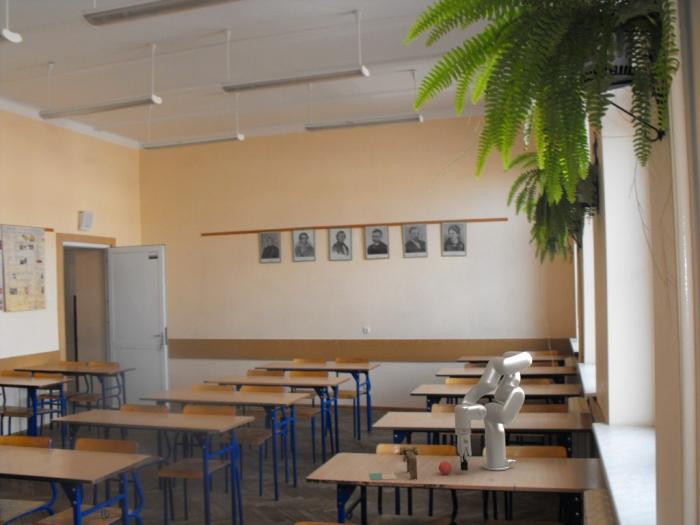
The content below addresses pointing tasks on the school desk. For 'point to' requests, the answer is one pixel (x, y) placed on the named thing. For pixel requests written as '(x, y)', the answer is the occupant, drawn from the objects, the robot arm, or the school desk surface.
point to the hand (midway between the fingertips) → (464, 469)
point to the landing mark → (376, 476)
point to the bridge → (411, 465)
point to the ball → (445, 467)
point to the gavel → (408, 449)
